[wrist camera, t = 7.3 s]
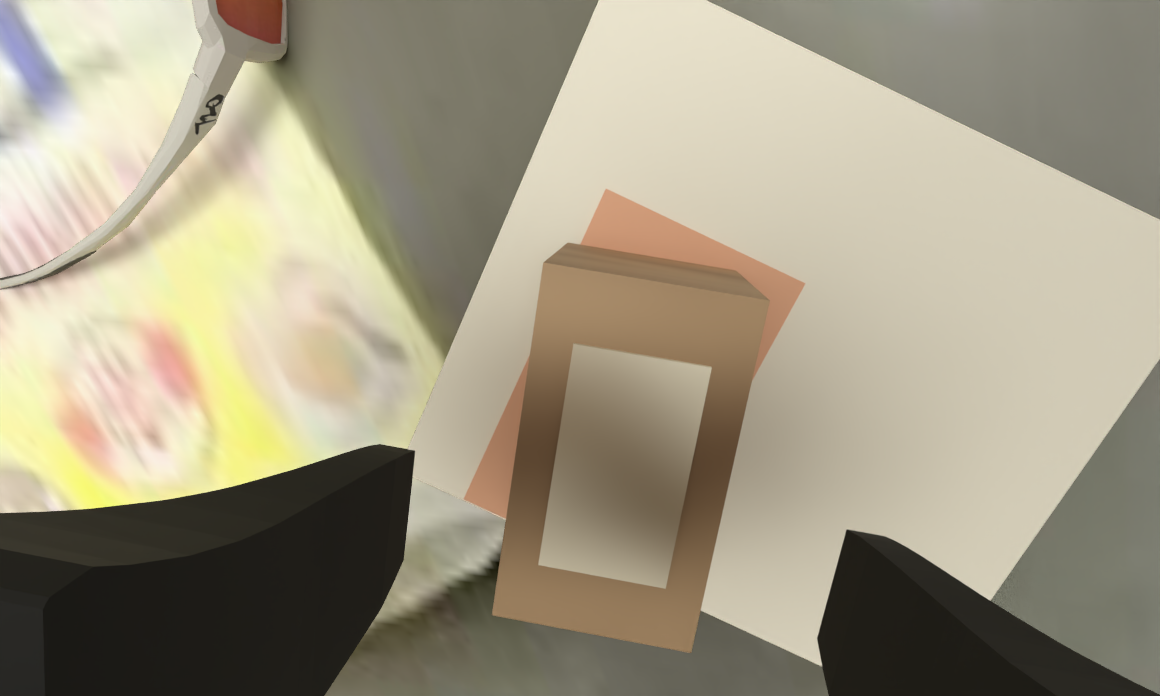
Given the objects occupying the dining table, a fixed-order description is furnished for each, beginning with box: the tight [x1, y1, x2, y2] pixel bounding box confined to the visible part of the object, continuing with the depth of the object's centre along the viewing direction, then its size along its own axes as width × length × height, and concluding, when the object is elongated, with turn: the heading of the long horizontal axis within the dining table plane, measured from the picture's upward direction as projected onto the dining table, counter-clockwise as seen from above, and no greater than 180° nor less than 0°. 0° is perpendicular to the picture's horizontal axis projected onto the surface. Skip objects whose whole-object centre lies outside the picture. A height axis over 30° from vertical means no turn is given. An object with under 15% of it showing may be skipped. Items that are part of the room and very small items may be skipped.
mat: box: [408, 0, 1160, 666], centre depth 20 cm, size 17×15×1 cm
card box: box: [492, 243, 770, 653], centre depth 17 cm, size 8×4×5 cm, turn 171°
